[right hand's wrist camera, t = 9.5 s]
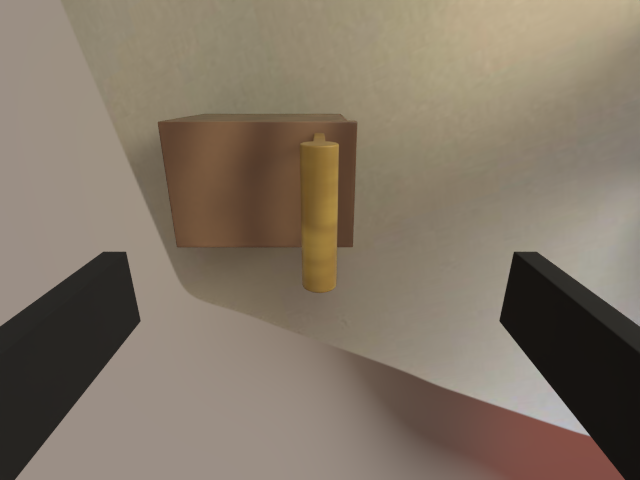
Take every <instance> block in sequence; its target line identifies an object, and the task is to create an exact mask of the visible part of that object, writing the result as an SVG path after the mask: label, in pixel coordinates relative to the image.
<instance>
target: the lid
mask: <svg viewBox="0 0 640 480" xmlns="http://www.w3.org/2000/svg"><path fill="white" fill-rule="evenodd" d="M158 127H159V133H160V140H161V146H162V153H163V159H164V166H165V172H166V179H167V185H168V192H169V198H170V205H171V211H172V217H173V224H174V230H175V237H176V243H177V247H302V285H303V287H304V288H305V289H306V290H308V291H311V292H316V293H323V292H328V291H331V290H333V289H334V288H335V286H336V273H337V247H353V226H354V198H355V169H356V141H357V122H356V121H160V122H158Z"/></svg>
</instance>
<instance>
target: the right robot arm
mask: <svg viewBox="0 0 640 480" xmlns="http://www.w3.org/2000/svg"><path fill="white" fill-rule="evenodd" d="M139 322H140V316H139V311H138V306H137V302H136V297H135V292H134V288H133V283H132V278H131V273H130V269H129V264H128V259H127V255H126V252H102V253H101V254H100V255H98V256H97V257H96V258H94V259H93V260H91V261H90V262H89V263H87V264H86V265H85V266H83V267H82V268H80V269H79V270H78V271H76V272H75V273H73V274H72V275H71V276H69V277H68V278H67V279H65V280H64V281H62V282H61V283H60V284H58V285H57V286H56V287H54V288H53V289H51V290H50V291H49V292H47V293H46V294H44V295H43V296H42V297H40V298H39V299H38V300H36V301H35V302H33V303H32V304H31V305H29V306H28V307H27V308H25V309H24V310H22V311H21V312H20V313H18V314H17V315H16V316H14V317H13V318H11V319H10V320H9V321H7V322H6V323H5V324H3V325H2V326H0V480H15V479H16V478H17V476H18V475H19V474H20V472H21V471H22V470H23V469H24V467H25V466H26V465H27V464H28V462H29V461H30V460H31V459H32V457H33V456H34V455H35V454H36V452H37V451H38V450H39V448H40V447H41V446H42V445H43V443H44V442H45V441H46V440H47V438H48V437H49V436H50V435H51V433H52V432H53V431H54V430H55V428H56V427H57V426H58V425H59V423H60V422H61V421H62V420H63V418H64V417H65V416H66V414H67V413H68V412H69V411H70V409H71V408H72V407H73V406H74V404H75V403H76V402H77V401H78V399H79V398H80V397H81V396H82V394H83V393H84V392H85V390H86V389H87V388H88V387H89V385H90V384H91V383H92V382H93V380H94V379H95V378H96V377H97V375H98V374H99V373H100V372H101V370H102V369H103V368H104V367H105V365H106V364H107V363H108V362H109V360H110V359H111V358H112V356H113V355H114V354H115V353H116V351H117V350H118V349H119V348H120V346H121V345H122V344H123V343H124V341H125V340H126V339H127V338H128V336H129V335H130V334H131V332H132V331H133V330H134V329H135V327H136V326H137V325H138V324H139ZM500 322H501V324H502V325H503V326H504V327H505V329H506V330H507V331H508V332H509V334H510V335H511V336H512V338H513V339H514V340H515V341H516V343H517V344H518V345H519V346H520V348H521V349H522V350H523V351H524V353H525V354H526V355H527V356H528V358H529V359H530V360H531V362H532V363H533V364H534V365H535V367H536V368H537V369H538V370H539V372H540V373H541V374H542V375H543V377H544V378H545V379H546V380H547V382H548V383H549V384H550V385H551V387H552V388H553V389H554V391H555V392H556V393H557V394H558V396H559V397H560V398H561V399H562V401H563V402H564V403H565V404H566V406H567V407H568V408H569V409H570V411H571V412H572V413H573V414H574V416H575V417H576V418H577V420H578V421H579V422H580V423H581V425H582V426H583V427H584V428H585V430H586V431H587V432H588V433H589V435H590V436H591V437H592V438H593V440H594V441H595V442H596V444H597V445H598V446H599V447H600V449H601V450H602V451H603V452H604V454H605V455H606V456H607V457H608V459H609V460H610V461H611V462H612V464H613V465H614V466H615V467H616V469H617V470H618V471H619V473H620V474H621V475H622V476H623V478H624V479H625V480H640V326H638V325H637V324H636V323H634V322H633V321H631V320H630V319H629V318H627V317H626V316H624V315H623V314H622V313H620V312H619V311H618V310H616V309H615V308H613V307H612V306H611V305H609V304H608V303H607V302H605V301H604V300H602V299H601V298H600V297H598V296H597V295H596V294H594V293H593V292H591V291H590V290H589V289H587V288H586V287H584V286H583V285H582V284H580V283H579V282H578V281H576V280H575V279H573V278H572V277H571V276H569V275H568V274H567V273H565V272H564V271H562V270H561V269H560V268H558V267H557V266H556V265H554V264H553V263H551V262H550V261H549V260H547V259H546V258H544V257H543V256H542V255H540V254H539V253H538V252H514V254H513V259H512V264H511V269H510V273H509V278H508V283H507V287H506V292H505V297H504V302H503V306H502V311H501V316H500Z"/></svg>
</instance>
